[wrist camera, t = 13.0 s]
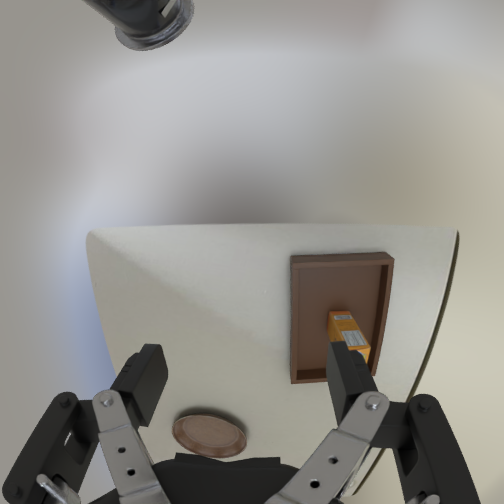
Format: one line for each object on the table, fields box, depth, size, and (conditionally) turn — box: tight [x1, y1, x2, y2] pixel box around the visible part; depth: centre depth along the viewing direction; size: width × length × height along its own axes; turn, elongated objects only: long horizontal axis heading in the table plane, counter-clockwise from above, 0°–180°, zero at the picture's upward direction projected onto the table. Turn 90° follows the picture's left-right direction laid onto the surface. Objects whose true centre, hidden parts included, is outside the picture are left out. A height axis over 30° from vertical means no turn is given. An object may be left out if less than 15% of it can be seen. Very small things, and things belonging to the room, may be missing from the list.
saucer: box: [172, 414, 247, 458], centre depth 48 cm, size 15×15×3 cm
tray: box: [290, 252, 394, 384], centre depth 39 cm, size 20×14×3 cm
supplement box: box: [327, 311, 371, 365], centre depth 35 cm, size 3×3×10 cm
